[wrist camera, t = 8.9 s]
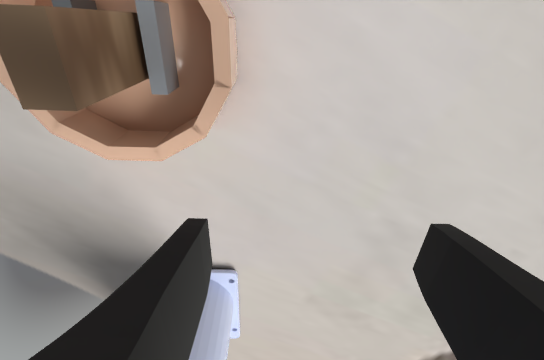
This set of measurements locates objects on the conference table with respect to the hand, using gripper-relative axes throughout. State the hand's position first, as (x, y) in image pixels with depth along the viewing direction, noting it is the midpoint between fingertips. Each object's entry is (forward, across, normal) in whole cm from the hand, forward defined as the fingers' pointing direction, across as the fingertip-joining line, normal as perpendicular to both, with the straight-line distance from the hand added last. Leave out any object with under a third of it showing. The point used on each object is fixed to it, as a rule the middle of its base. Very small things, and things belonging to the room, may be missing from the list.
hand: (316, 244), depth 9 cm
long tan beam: (+9, +9, -5) cm, 14 cm away
